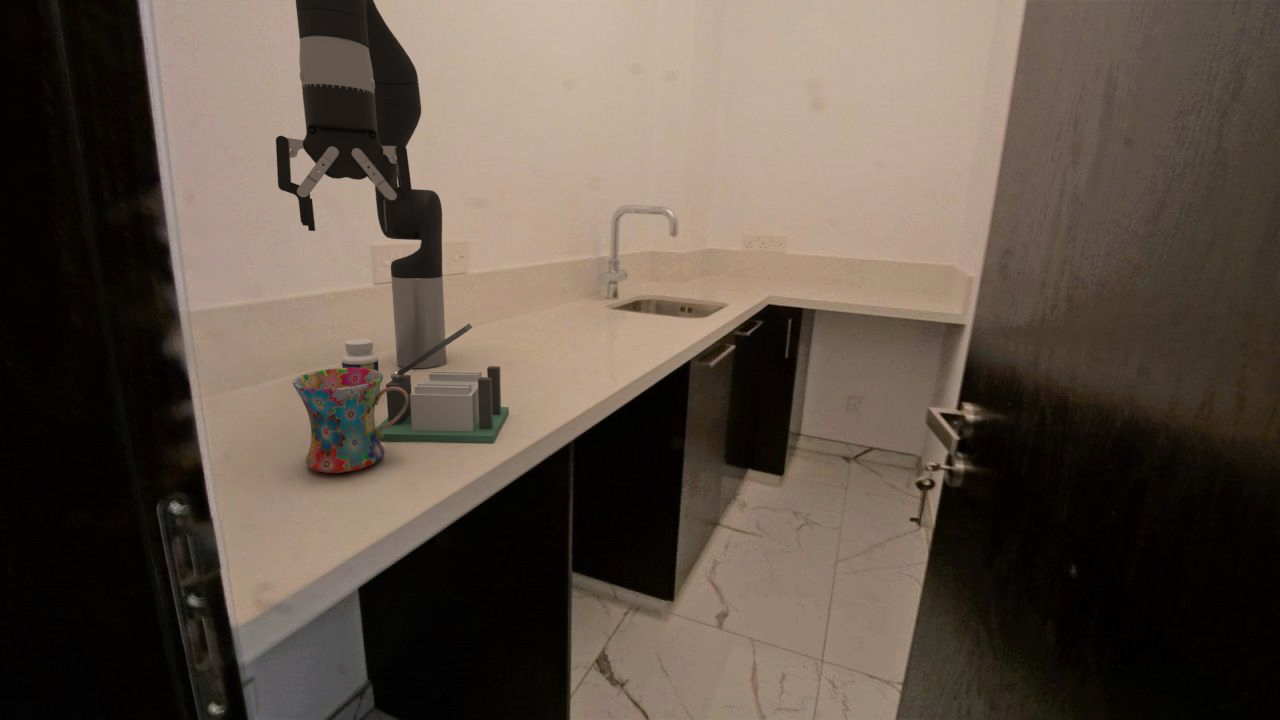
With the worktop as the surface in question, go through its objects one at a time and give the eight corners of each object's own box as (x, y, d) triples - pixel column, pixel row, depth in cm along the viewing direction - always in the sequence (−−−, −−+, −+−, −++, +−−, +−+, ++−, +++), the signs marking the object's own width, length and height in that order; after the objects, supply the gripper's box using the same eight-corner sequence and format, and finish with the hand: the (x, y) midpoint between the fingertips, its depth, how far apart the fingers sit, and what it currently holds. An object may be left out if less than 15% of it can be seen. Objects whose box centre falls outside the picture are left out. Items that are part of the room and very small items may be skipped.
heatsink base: (401, 411, 88) (398, 360, 86) (508, 413, 89) (507, 362, 87) (369, 440, 77) (365, 382, 75) (493, 443, 78) (491, 385, 76)
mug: (290, 482, 65) (280, 390, 62) (315, 450, 73) (307, 368, 71) (406, 475, 67) (400, 387, 65) (417, 445, 76) (412, 366, 74)
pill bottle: (366, 400, 93) (362, 346, 90) (337, 397, 94) (332, 343, 91) (387, 391, 98) (383, 339, 96) (359, 388, 99) (355, 337, 97)
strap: (401, 376, 82) (396, 370, 82) (473, 328, 81) (468, 322, 81) (393, 381, 80) (389, 375, 79) (468, 332, 78) (463, 326, 78)
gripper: (401, 99, 74) (409, 230, 78) (268, 84, 67) (285, 228, 72) (408, 90, 68) (417, 233, 72) (263, 73, 61) (282, 232, 65)
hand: (351, 230), depth 72 cm, fingers open, 8 cm apart
